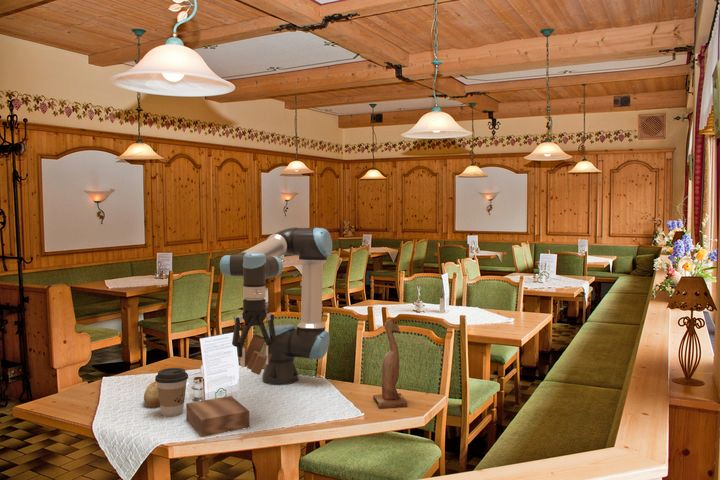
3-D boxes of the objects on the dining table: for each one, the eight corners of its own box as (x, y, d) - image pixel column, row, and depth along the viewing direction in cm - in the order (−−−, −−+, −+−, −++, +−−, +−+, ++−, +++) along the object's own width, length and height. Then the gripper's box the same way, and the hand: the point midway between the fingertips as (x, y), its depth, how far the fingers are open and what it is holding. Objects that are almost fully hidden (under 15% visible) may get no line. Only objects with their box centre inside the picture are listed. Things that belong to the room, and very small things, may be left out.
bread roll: (179, 396, 229) (179, 375, 229) (165, 409, 214) (164, 387, 214) (155, 395, 230) (155, 375, 229) (139, 408, 215) (138, 386, 214)
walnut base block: (231, 412, 213) (231, 395, 212) (249, 428, 197) (249, 411, 197) (186, 420, 204) (186, 403, 204) (201, 438, 189) (201, 419, 189)
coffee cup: (175, 420, 203) (174, 377, 202) (148, 416, 207) (147, 373, 206) (195, 409, 214) (195, 368, 213) (169, 405, 218) (168, 365, 217)
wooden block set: (262, 382, 193) (275, 353, 193) (237, 372, 192) (250, 343, 192) (266, 365, 211) (278, 339, 211) (244, 355, 210) (255, 329, 210)
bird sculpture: (409, 407, 219) (412, 321, 218) (378, 409, 216) (382, 322, 215) (399, 398, 230) (402, 316, 229) (370, 399, 227) (373, 316, 226)
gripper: (227, 302, 193) (228, 371, 195) (286, 298, 203) (286, 364, 204) (221, 298, 200) (221, 365, 201) (278, 295, 210) (278, 359, 211)
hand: (254, 364), depth 203 cm, fingers closed on wooden block set, 7 cm apart
